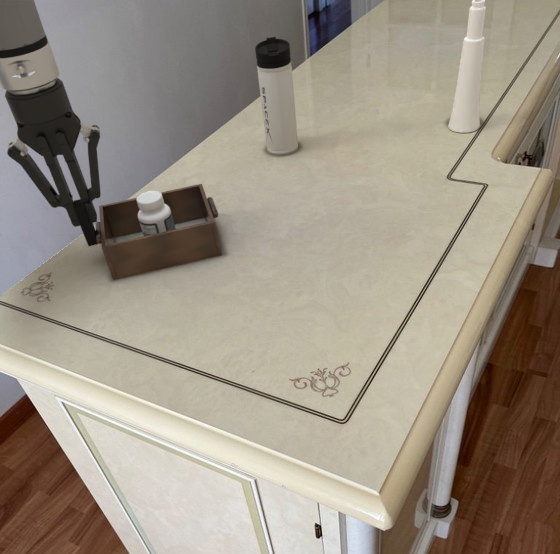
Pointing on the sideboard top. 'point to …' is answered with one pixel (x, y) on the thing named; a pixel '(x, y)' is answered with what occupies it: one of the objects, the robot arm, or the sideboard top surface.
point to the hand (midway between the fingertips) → (93, 240)
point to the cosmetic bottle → (470, 74)
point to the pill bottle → (154, 213)
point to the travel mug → (277, 96)
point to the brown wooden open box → (158, 234)
